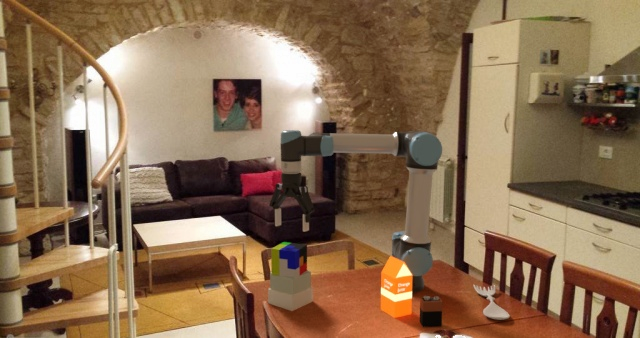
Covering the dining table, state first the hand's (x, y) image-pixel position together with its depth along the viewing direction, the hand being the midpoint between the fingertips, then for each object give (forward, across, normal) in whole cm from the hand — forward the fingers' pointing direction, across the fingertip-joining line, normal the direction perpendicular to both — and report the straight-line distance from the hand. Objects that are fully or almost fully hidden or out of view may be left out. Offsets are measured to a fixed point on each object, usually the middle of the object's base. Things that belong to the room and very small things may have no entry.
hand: (291, 228), depth 204 cm
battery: (+29, +51, +13) cm, 60 cm away
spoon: (+30, +62, +42) cm, 80 cm away
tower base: (+29, 0, -1) cm, 29 cm away
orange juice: (+29, +36, +16) cm, 49 cm away
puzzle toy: (+17, 0, -1) cm, 17 cm away
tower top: (+23, 0, -1) cm, 23 cm away
